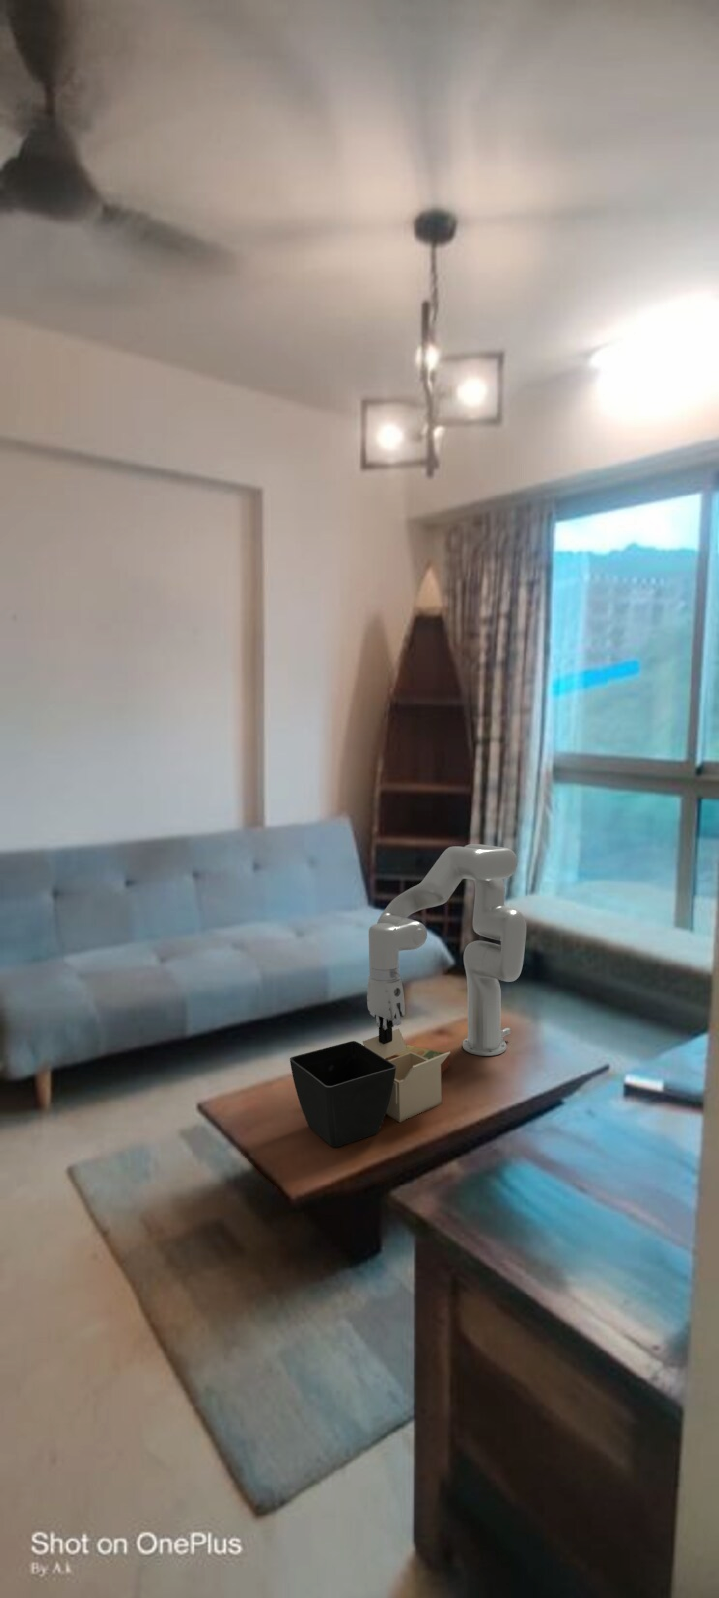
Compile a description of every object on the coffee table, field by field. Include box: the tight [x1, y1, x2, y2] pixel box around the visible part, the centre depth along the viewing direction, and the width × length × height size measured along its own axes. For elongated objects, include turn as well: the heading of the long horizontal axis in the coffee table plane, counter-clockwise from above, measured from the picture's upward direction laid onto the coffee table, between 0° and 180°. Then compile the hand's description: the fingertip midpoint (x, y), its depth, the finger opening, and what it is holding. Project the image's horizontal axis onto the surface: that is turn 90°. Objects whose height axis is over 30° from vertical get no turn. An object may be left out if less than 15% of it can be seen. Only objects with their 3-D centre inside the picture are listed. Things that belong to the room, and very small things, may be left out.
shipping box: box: [385, 1052, 442, 1123], centre depth 198 cm, size 15×11×10 cm
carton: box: [385, 1044, 450, 1075], centre depth 220 cm, size 8×16×4 cm, turn 60°
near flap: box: [403, 1051, 451, 1081], centre depth 191 cm, size 12×6×1 cm
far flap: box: [362, 1028, 408, 1059], centre depth 203 cm, size 12×6×1 cm
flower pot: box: [289, 1040, 396, 1148], centre depth 187 cm, size 19×19×17 cm
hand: (385, 1041), depth 203 cm, fingers closed
